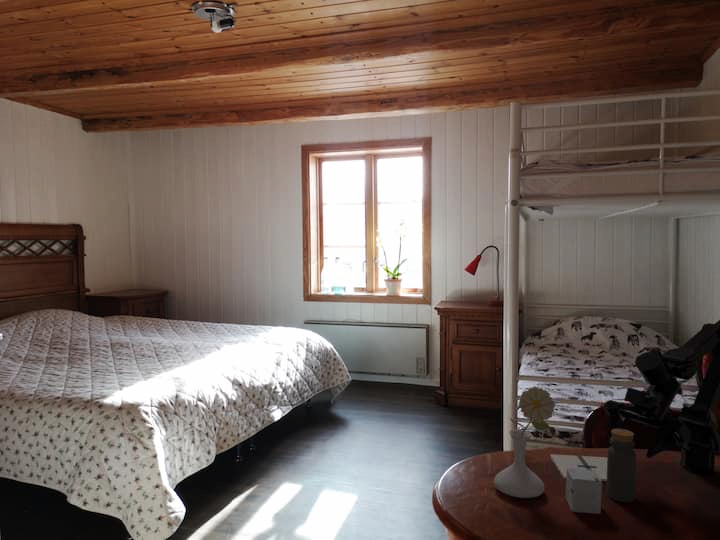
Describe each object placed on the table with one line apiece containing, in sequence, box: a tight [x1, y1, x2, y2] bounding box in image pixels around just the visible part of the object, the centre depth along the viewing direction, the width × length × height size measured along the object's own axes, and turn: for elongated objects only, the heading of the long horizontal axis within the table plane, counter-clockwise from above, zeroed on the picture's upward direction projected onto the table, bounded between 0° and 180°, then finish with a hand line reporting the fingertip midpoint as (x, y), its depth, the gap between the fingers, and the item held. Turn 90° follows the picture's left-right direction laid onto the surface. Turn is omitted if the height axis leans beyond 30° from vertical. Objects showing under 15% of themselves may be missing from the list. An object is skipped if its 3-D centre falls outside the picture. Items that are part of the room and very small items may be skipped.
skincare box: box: [565, 468, 603, 515], centre depth 116 cm, size 6×6×7 cm
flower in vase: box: [493, 386, 556, 499], centre depth 122 cm, size 13×11×25 cm
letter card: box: [549, 454, 608, 483], centre depth 136 cm, size 15×14×1 cm
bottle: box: [605, 429, 637, 503], centre depth 121 cm, size 6×6×15 cm
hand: (628, 450), depth 122 cm, fingers open, 9 cm apart
